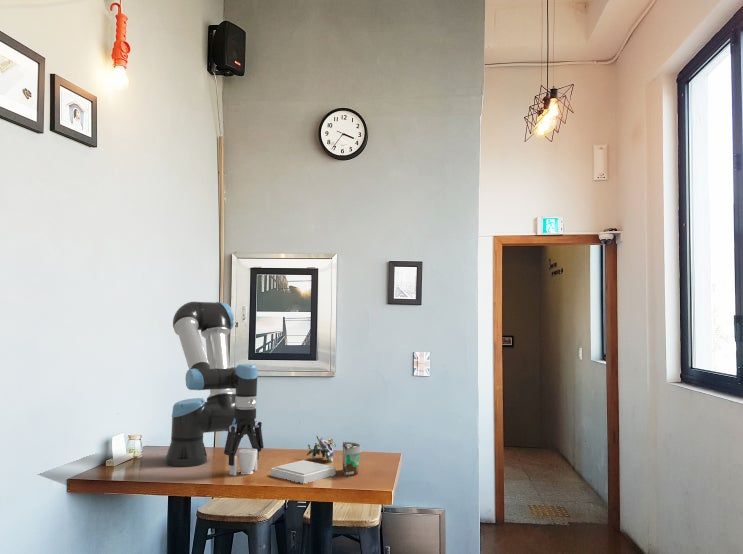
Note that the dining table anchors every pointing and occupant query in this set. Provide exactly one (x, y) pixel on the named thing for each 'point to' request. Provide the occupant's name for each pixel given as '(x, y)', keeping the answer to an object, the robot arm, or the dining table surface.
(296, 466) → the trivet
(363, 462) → the dining table surface
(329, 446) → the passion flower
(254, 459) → the cup
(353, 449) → the food container
